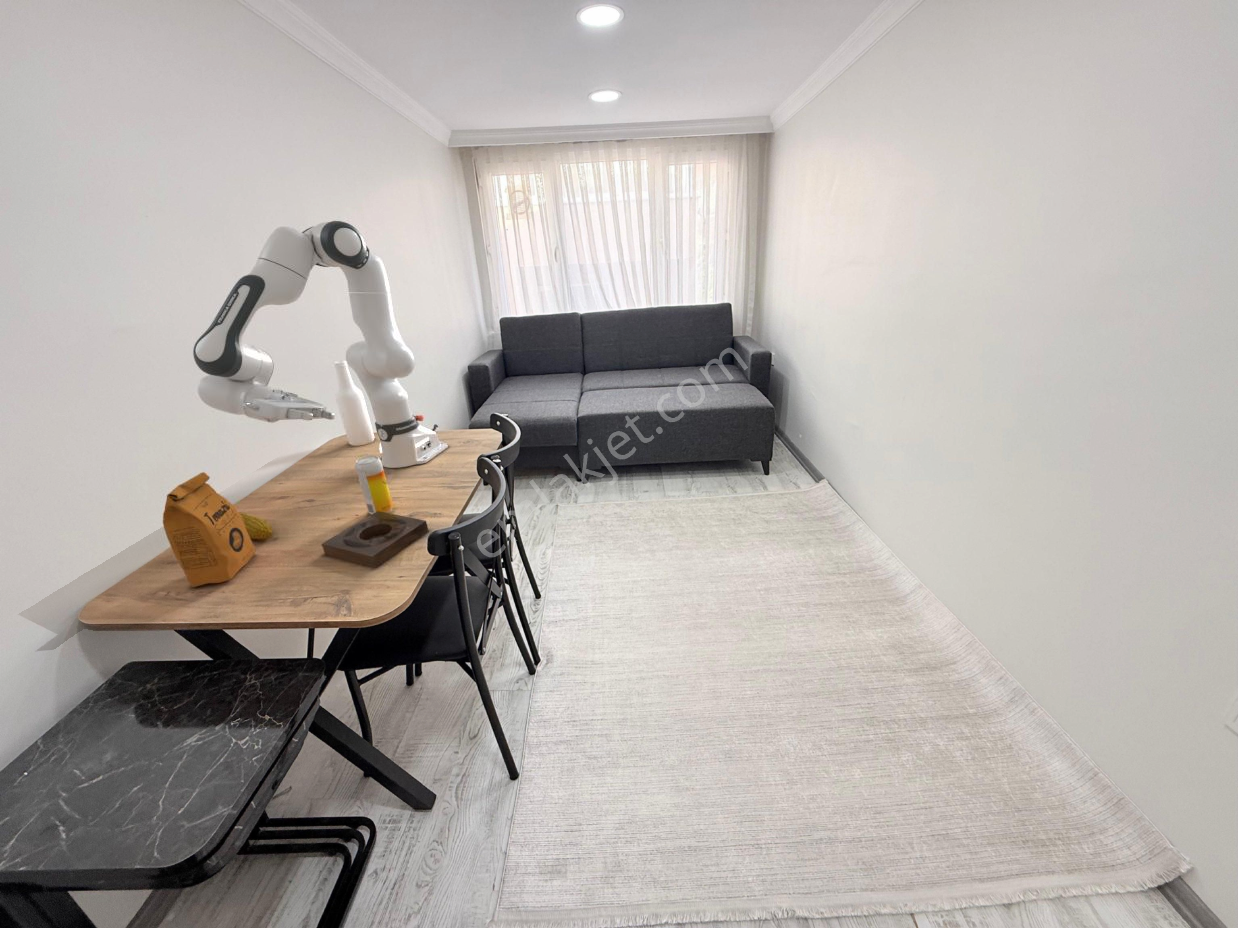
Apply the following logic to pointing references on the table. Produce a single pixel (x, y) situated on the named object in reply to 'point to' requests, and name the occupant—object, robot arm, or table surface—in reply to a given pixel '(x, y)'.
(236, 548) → the coffee package
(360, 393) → the alcohol
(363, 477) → the beer can
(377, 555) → the holder
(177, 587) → the table surface
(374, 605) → the table surface
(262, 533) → the food
